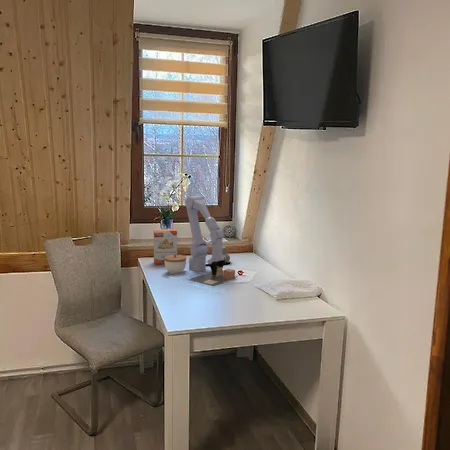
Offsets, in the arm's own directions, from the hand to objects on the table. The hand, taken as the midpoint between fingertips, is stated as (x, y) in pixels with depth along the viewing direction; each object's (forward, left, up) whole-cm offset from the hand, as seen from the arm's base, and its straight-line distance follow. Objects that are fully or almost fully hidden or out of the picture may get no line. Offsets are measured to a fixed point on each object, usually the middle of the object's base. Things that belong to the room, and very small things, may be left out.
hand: (216, 273), depth 269 cm
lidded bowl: (-24, -8, -2) cm, 25 cm away
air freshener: (-17, +27, -2) cm, 32 cm away
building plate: (+2, -6, -2) cm, 7 cm away
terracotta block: (+8, 0, -1) cm, 9 cm away
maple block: (0, 0, -1) cm, 1 cm away
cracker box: (-43, +4, -2) cm, 43 cm away
